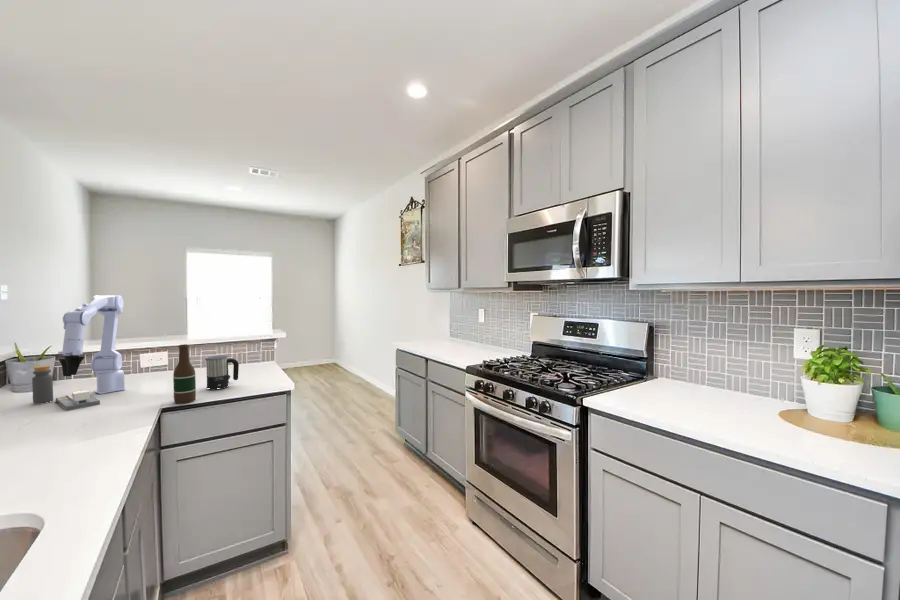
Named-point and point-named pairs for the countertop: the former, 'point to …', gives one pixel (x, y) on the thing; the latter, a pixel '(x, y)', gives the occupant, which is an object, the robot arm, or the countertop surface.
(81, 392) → the fader tab
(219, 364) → the milk frother
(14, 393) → the countertop surface
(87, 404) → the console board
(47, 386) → the bottle
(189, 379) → the beer bottle
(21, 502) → the countertop surface
